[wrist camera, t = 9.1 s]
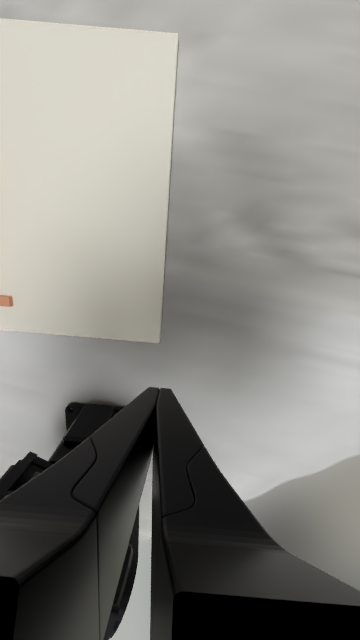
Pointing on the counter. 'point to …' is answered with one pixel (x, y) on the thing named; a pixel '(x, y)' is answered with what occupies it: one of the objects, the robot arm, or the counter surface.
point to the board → (84, 178)
